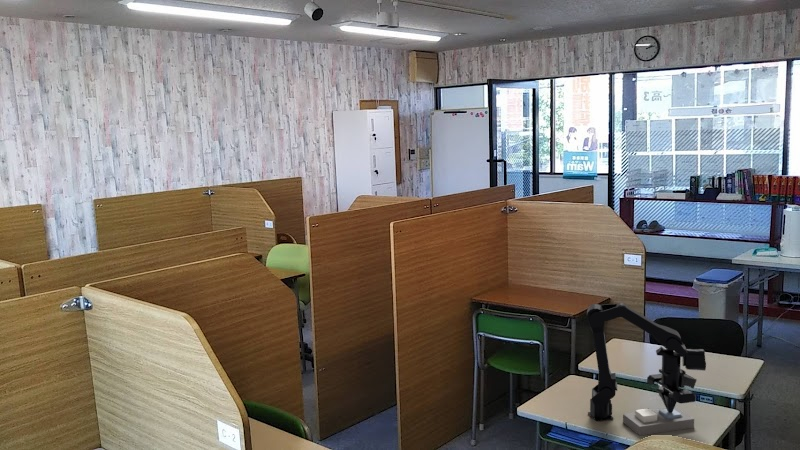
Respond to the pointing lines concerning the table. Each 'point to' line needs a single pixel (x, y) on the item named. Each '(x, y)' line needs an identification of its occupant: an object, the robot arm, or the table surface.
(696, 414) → the table surface
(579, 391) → the table surface
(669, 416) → the blue key
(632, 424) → the key panel
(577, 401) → the table surface
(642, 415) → the cream key
